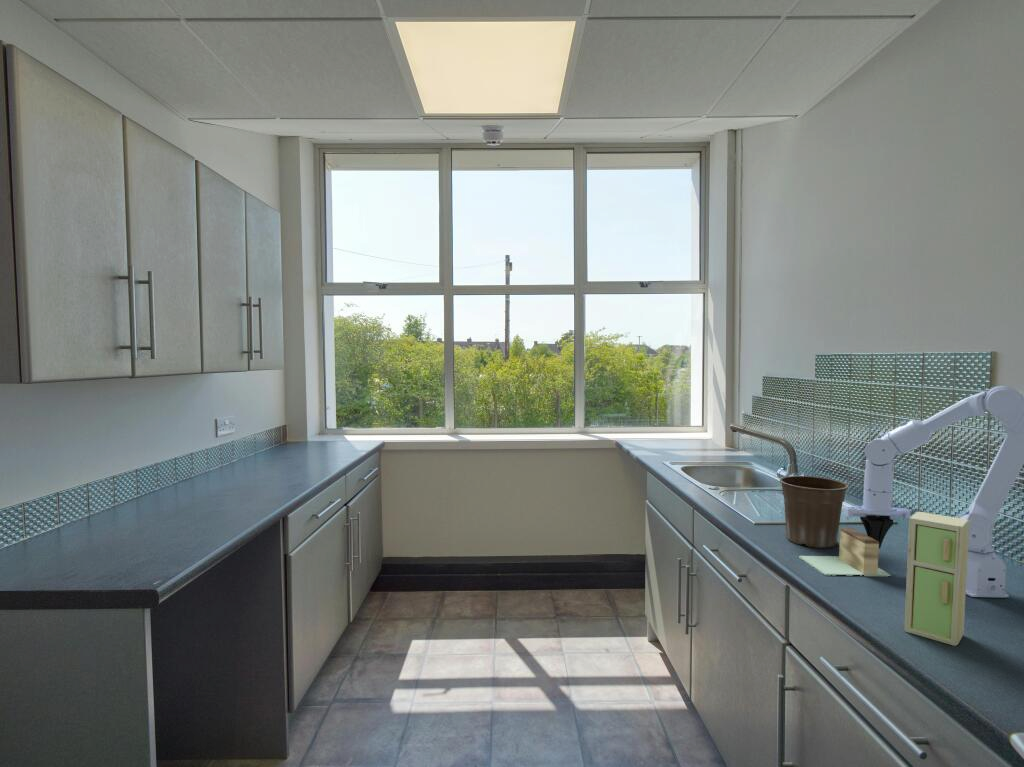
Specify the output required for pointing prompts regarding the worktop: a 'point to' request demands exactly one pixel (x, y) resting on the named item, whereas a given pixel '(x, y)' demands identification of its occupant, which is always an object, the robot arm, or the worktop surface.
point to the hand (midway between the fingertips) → (874, 547)
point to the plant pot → (812, 509)
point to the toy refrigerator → (936, 577)
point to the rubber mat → (836, 566)
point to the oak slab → (859, 551)
